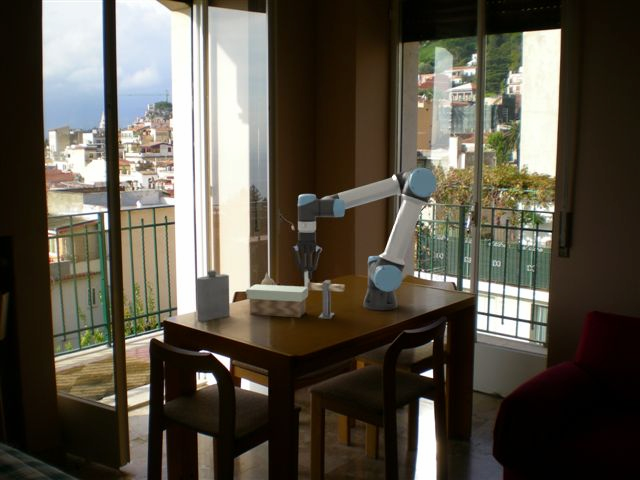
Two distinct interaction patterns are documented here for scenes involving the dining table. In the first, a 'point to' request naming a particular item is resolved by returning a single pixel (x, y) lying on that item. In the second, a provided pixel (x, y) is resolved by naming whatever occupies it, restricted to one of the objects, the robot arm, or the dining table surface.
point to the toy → (267, 281)
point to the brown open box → (277, 307)
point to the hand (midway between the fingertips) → (307, 286)
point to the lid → (277, 292)
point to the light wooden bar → (330, 287)
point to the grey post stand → (326, 301)
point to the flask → (212, 296)
